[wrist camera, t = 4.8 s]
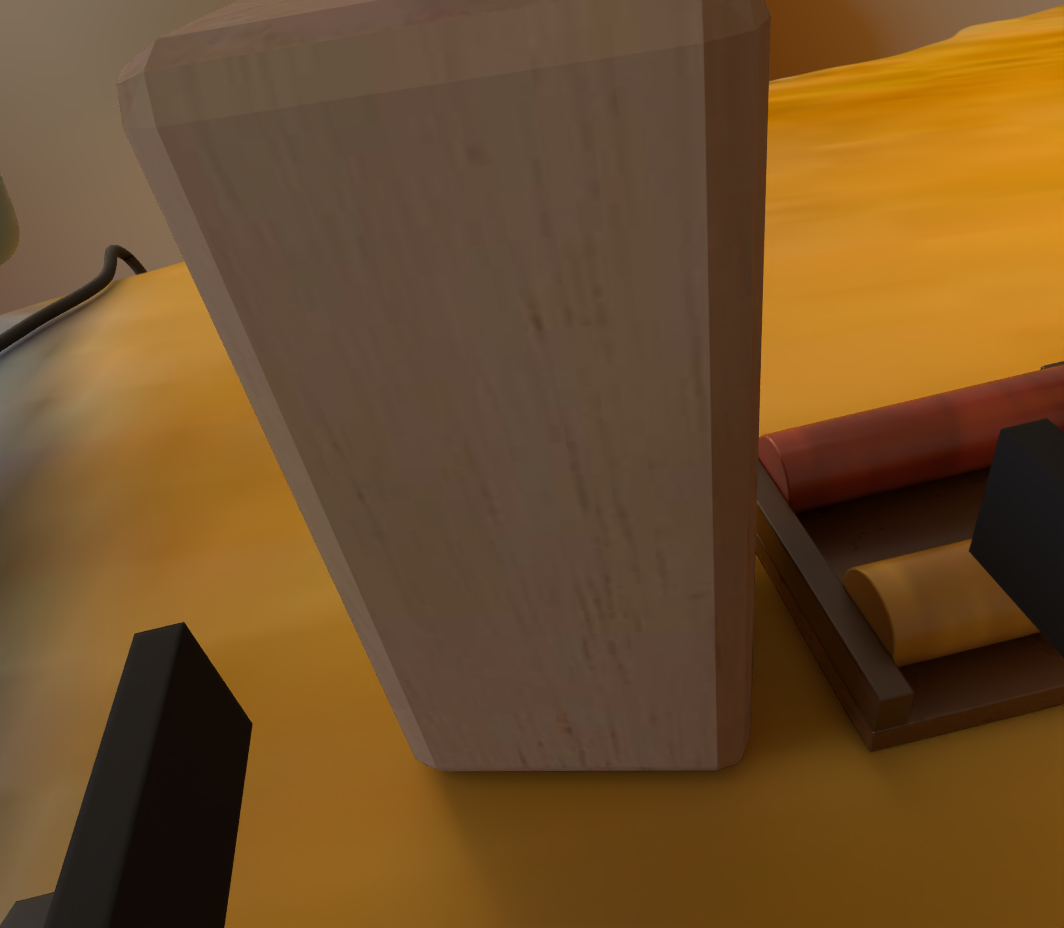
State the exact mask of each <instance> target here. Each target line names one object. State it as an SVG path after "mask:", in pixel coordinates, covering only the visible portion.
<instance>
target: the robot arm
mask: <svg viewBox="0 0 1064 928" xmlns="http://www.w3.org/2000/svg"><path fill="white" fill-rule="evenodd" d="M18 242H19V226H18V221H17V218H16V214H15V211H14V208H13V205H12V202H11V199H10V196H9V194H8V191H7V189H6V186H5V184H4V181H3V179H2V176H1V174H0V265H2V264H4V263H5V262H6V261H7V260H9V259H10V258H11V257H12V255H13V254H14V252H15V251H16V249H17V246H18ZM117 257H119V258H121V259H122V260H123V261H125V262H126V263H127V264H128V265H129V267H130V268H131V269H132V270H133V271H134V273H135V274H136V275H139V274H143V273H146V272H147V271H146V269H145V268H144V267H143V265H142V264H141V263H140V262H139V261H138V260H137V259H136V257H134V255H132V254H131V253H130V252H129V251H127V250H126V249H124V248H122V247H121V246H118V245H110V246H109V247H107V248H106V251H105V258H104V266H103V269H102V271H101V272H100V274H99V275H98V276H97V277H96V278H95V279H93V280H92V281H91V282H89V283H88V284H86V285H85V286H83V287H82V288H80V289H78V290H77V291H75V292H73V293H71V294H69V295H68V296H66V297H64V298H62V299H60V300H58V301H56V302H54V303H52V304H51V305H49V306H47V307H45V308H43V309H41V310H40V311H38V312H36V313H34V314H33V315H31V316H29V317H28V318H26V319H24V320H23V321H21V322H20V323H18V324H16V325H15V326H13V327H12V328H10V329H8V330H7V331H5V332H4V333H2V334H1V335H0V352H1V351H2V350H4V349H5V348H7V347H8V346H10V345H11V344H13V343H14V342H16V341H17V340H19V339H21V338H22V337H24V336H25V335H27V334H28V333H30V332H31V331H33V330H34V329H36V328H38V327H39V326H41V325H42V324H44V323H46V322H47V321H49V320H51V319H53V318H55V317H56V316H58V315H60V314H62V313H64V312H65V311H67V310H69V309H71V308H73V307H75V306H76V305H78V304H80V303H82V302H84V301H85V300H87V299H89V298H90V297H92V296H93V295H95V294H96V293H98V292H99V291H101V290H102V289H103V288H104V287H106V286H107V285H108V284H109V283H110V282H111V280H112V279H113V277H114V275H115V271H116V266H117ZM969 552H970V553H971V554H972V556H973V557H974V558H975V559H976V560H977V561H978V562H979V563H980V565H981V566H982V567H983V568H984V569H985V570H986V571H987V572H988V574H989V575H990V576H991V577H992V578H993V579H994V580H995V581H996V583H997V584H998V585H999V586H1000V587H1001V588H1002V589H1003V590H1004V592H1005V593H1006V594H1007V595H1008V596H1009V597H1010V598H1011V599H1012V601H1013V602H1014V603H1015V604H1016V605H1017V606H1018V607H1019V608H1020V610H1021V611H1022V612H1023V613H1024V614H1025V615H1026V616H1027V618H1028V619H1029V620H1030V621H1031V622H1032V623H1033V624H1034V625H1035V627H1036V628H1037V629H1038V630H1039V631H1040V632H1041V633H1042V634H1043V636H1044V637H1045V638H1046V639H1047V640H1048V641H1049V642H1050V643H1051V645H1052V646H1053V647H1054V648H1055V649H1056V650H1057V651H1058V652H1059V654H1060V655H1061V656H1062V657H1063V658H1064V432H1063V431H1062V430H1061V429H1060V428H1058V427H1057V426H1056V425H1055V424H1053V423H1052V422H1051V421H1050V420H1048V419H1047V418H1045V419H1041V420H1037V421H1033V422H1028V423H1024V424H1020V425H1016V426H1011V427H1007V428H1003V429H1001V430H1000V434H999V437H998V441H997V445H996V449H995V453H994V456H993V460H992V464H991V468H990V472H989V475H988V479H987V483H986V487H985V491H984V494H983V498H982V502H981V506H980V510H979V513H978V517H977V521H976V525H975V529H974V533H973V536H972V540H971V544H970V548H969ZM251 731H252V722H251V721H250V719H249V718H248V716H247V715H246V713H245V712H244V710H243V709H242V708H241V706H240V705H239V703H238V702H237V700H236V699H235V697H234V696H233V694H232V693H231V691H230V690H229V688H228V687H227V685H226V684H225V682H224V681H223V679H222V678H221V676H220V675H219V673H218V672H217V670H216V669H215V667H214V666H213V664H212V663H211V661H210V660H209V658H208V657H207V655H206V654H205V652H204V651H203V649H202V648H201V647H200V645H199V644H198V642H197V641H196V639H195V638H194V636H193V635H192V633H191V632H190V630H189V629H188V627H187V626H186V624H185V623H184V622H182V623H178V624H173V625H169V626H165V627H161V628H157V629H152V630H148V631H144V632H140V633H135V634H134V637H133V641H132V644H131V647H130V650H129V653H128V657H127V660H126V663H125V666H124V670H123V673H122V676H121V679H120V682H119V686H118V689H117V692H116V695H115V699H114V702H113V705H112V708H111V711H110V715H109V718H108V721H107V724H106V728H105V731H104V734H103V737H102V740H101V744H100V747H99V750H98V753H97V757H96V760H95V763H94V766H93V769H92V773H91V776H90V779H89V782H88V786H87V789H86V792H85V795H84V798H83V802H82V805H81V808H80V811H79V815H78V818H77V821H76V824H75V827H74V831H73V834H72V837H71V840H70V844H69V847H68V850H67V853H66V856H65V860H64V863H63V866H62V869H61V873H60V876H59V879H58V882H57V885H56V889H55V892H53V893H49V894H45V895H41V896H37V897H33V898H29V899H25V900H20V901H16V902H15V904H14V905H13V907H12V908H11V910H10V911H9V913H8V914H7V916H6V917H5V919H4V920H3V922H2V923H1V925H0V928H224V926H225V919H226V912H227V904H228V897H229V890H230V883H231V875H232V868H233V861H234V854H235V847H236V839H237V832H238V825H239V818H240V810H241V803H242V796H243V789H244V781H245V774H246V767H247V760H248V753H249V745H250V738H251Z"/></svg>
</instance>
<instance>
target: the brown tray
mask: <svg viewBox="0 0 1064 928" xmlns="http://www.w3.org/2000/svg"><path fill="white" fill-rule="evenodd" d="M1045 418H1047V419H1048V420H1050V421H1051V422H1052V423H1053V424H1055V425H1056V426H1057V427H1058V428H1060V429H1061V430H1062V431H1063V432H1064V361H1062V362H1058V363H1053V364H1049V365H1045V366H1042V367H1041V369H1040V370H1038V371H1034V372H1030V373H1025V374H1021V375H1017V376H1013V377H1008V378H1004V379H1000V380H995V381H991V382H987V383H983V384H978V385H974V386H970V387H966V388H961V389H957V390H953V391H949V392H944V393H940V394H936V395H931V396H927V397H923V398H919V399H914V400H910V401H906V402H902V403H897V404H893V405H889V406H885V407H880V408H876V409H872V410H867V411H863V412H859V413H855V414H850V415H846V416H842V417H838V418H833V419H829V420H825V421H821V422H816V423H812V424H808V425H803V426H799V427H795V428H791V429H786V430H782V431H778V432H774V433H769V434H765V435H762V436H761V437H759V442H758V478H757V513H756V548H755V552H756V554H757V556H758V557H759V559H760V561H761V563H762V564H763V566H764V568H765V570H766V571H767V573H768V575H769V577H770V578H771V580H772V582H773V584H774V585H775V587H776V589H777V591H778V592H779V594H780V596H781V598H782V599H783V601H784V603H785V605H786V606H787V608H788V610H789V612H790V613H791V615H792V617H793V619H794V620H795V622H796V624H797V625H798V627H799V629H800V631H801V632H802V634H803V636H804V638H805V639H806V641H807V643H808V645H809V646H810V648H811V650H812V652H813V653H814V655H815V657H816V659H817V660H818V662H819V664H820V666H821V667H822V669H823V671H824V673H825V674H826V676H827V678H828V680H829V681H830V683H831V685H832V687H833V688H834V690H835V692H836V694H837V695H838V697H839V699H840V701H841V702H842V704H843V706H844V708H845V709H846V711H847V713H848V715H849V716H850V718H851V720H852V722H853V723H854V725H855V727H856V729H857V730H858V732H859V734H860V736H861V737H862V739H863V741H864V743H865V744H866V746H867V748H868V750H869V751H871V752H872V751H876V750H880V749H884V748H888V747H892V746H896V745H900V744H904V743H908V742H912V741H916V740H920V739H924V738H928V737H932V736H936V735H940V734H944V733H948V732H952V731H956V730H960V729H964V728H968V727H972V726H976V725H980V724H984V723H988V722H992V721H996V720H1000V719H1004V718H1008V717H1012V716H1016V715H1020V714H1024V713H1028V712H1032V711H1036V710H1040V709H1044V708H1048V707H1052V706H1056V705H1060V704H1064V658H1063V657H1062V656H1061V655H1060V654H1059V652H1058V651H1057V650H1056V649H1055V648H1054V647H1053V646H1052V645H1051V643H1050V642H1049V641H1048V640H1047V639H1046V638H1045V637H1044V636H1043V634H1042V633H1041V632H1040V631H1039V630H1038V629H1037V628H1036V627H1035V625H1034V624H1033V623H1032V622H1031V621H1030V620H1029V619H1028V618H1027V616H1026V615H1025V614H1024V613H1023V612H1022V611H1021V610H1020V608H1019V607H1018V606H1017V605H1016V604H1015V603H1014V602H1013V601H1012V599H1011V598H1010V597H1009V596H1008V595H1007V594H1006V593H1005V592H1004V590H1003V589H1002V588H1001V587H1000V586H999V585H998V584H997V583H996V581H995V580H994V579H993V578H992V577H991V576H990V575H989V574H988V572H987V571H986V570H985V569H984V568H983V567H982V566H981V565H980V563H979V562H978V561H977V560H976V559H975V558H974V557H973V556H972V554H971V553H970V552H969V548H970V544H971V540H972V536H973V533H974V529H975V525H976V521H977V517H978V513H979V510H980V506H981V502H982V498H983V494H984V491H985V487H986V483H987V479H988V475H989V472H990V468H991V464H992V460H993V456H994V453H995V449H996V445H997V441H998V437H999V434H1000V430H1001V429H1003V428H1007V427H1011V426H1016V425H1020V424H1024V423H1028V422H1033V421H1037V420H1041V419H1045Z"/></svg>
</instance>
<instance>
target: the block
mask: <svg viewBox="0 0 1064 928" xmlns="http://www.w3.org/2000/svg"><path fill="white" fill-rule="evenodd" d="M770 19H771V16H770V13H769V11H768V8H767V6H766V3H765V0H238V1H236V2H234V3H232V4H230V5H228V6H226V7H223V8H221V9H219V10H217V11H215V12H213V13H211V14H208V15H206V16H204V17H202V18H200V19H198V20H196V21H194V22H191V23H189V24H187V25H185V26H183V27H181V28H179V29H176V30H174V31H172V32H170V33H168V34H166V35H164V36H162V37H160V38H157V39H156V40H154V41H153V42H152V43H151V44H150V45H149V46H148V47H146V48H145V49H144V50H143V51H142V52H141V53H139V54H138V55H137V56H136V57H135V58H134V59H132V60H131V61H130V62H129V63H128V64H127V65H126V66H124V67H123V70H122V72H121V75H120V78H119V80H118V83H117V90H118V97H119V104H120V110H121V117H122V124H123V129H124V131H125V133H126V135H127V138H128V140H129V142H130V144H131V146H132V148H133V151H134V153H135V155H136V157H137V159H138V161H139V163H140V166H141V168H142V170H143V172H144V174H145V176H146V179H147V180H148V183H149V185H150V187H151V189H152V191H153V193H154V196H155V198H156V200H157V202H158V204H159V207H160V209H161V211H162V213H163V215H164V217H165V219H166V222H167V224H168V226H169V228H170V230H171V232H172V234H173V237H174V239H175V241H176V243H177V245H178V248H179V250H180V252H181V254H182V256H183V258H184V260H185V263H186V265H187V267H188V269H189V271H190V273H191V276H192V278H193V280H194V282H195V284H196V286H197V289H198V291H199V293H200V295H201V297H202V299H203V301H204V304H205V306H206V308H207V310H208V312H209V314H210V317H211V319H212V321H213V323H214V325H215V327H216V329H217V332H218V334H219V336H220V338H221V340H222V342H223V345H224V347H225V349H226V351H227V353H228V355H229V357H230V360H231V362H232V364H233V366H234V368H235V370H236V373H237V375H238V377H239V379H240V381H241V383H242V386H243V388H244V390H245V392H246V394H247V396H248V398H249V401H250V403H251V405H252V407H253V409H254V411H255V414H256V416H257V418H258V420H259V422H260V424H261V426H262V429H263V431H264V433H265V435H266V437H267V439H268V442H269V444H270V446H271V448H272V450H273V452H274V455H275V457H276V459H277V461H278V463H279V465H280V467H281V470H282V472H283V474H284V476H285V478H286V480H287V483H288V485H289V487H290V489H291V491H292V493H293V495H294V498H295V500H296V502H297V504H298V506H299V508H300V511H301V513H302V515H303V517H304V519H305V521H306V523H307V526H308V528H309V530H310V532H311V534H312V536H313V539H314V541H315V543H316V545H317V547H318V549H319V552H320V554H321V556H322V558H323V560H324V562H325V564H326V567H327V569H328V571H329V573H330V575H331V577H332V580H333V582H334V584H335V586H336V588H337V590H338V592H339V595H340V597H341V599H342V601H343V603H344V605H345V608H346V610H347V612H348V614H349V616H350V618H351V620H352V623H353V625H354V627H355V629H356V631H357V633H358V636H359V638H360V640H361V642H362V644H363V646H364V649H365V651H366V653H367V655H368V657H369V659H370V661H371V664H372V666H373V668H374V670H375V672H376V674H377V677H378V679H379V681H380V683H381V685H382V687H383V689H384V692H385V694H386V696H387V698H388V700H389V702H390V705H391V707H392V709H393V711H394V713H395V715H396V717H397V720H398V722H399V724H400V726H401V728H402V730H403V733H404V735H405V737H406V739H407V741H408V743H409V746H410V748H411V750H412V752H413V754H414V756H415V758H416V759H417V760H418V761H420V762H422V763H423V764H425V765H427V766H430V767H433V768H436V769H439V770H442V771H642V770H719V769H722V768H725V767H728V766H731V765H734V764H737V763H738V762H739V761H740V759H741V758H742V757H743V754H744V751H745V748H746V745H747V742H748V739H749V736H750V725H751V689H752V654H753V619H754V583H755V548H756V513H757V478H758V442H759V407H760V372H761V337H762V301H763V266H764V231H765V195H766V160H767V125H768V90H769V54H770Z"/></svg>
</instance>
